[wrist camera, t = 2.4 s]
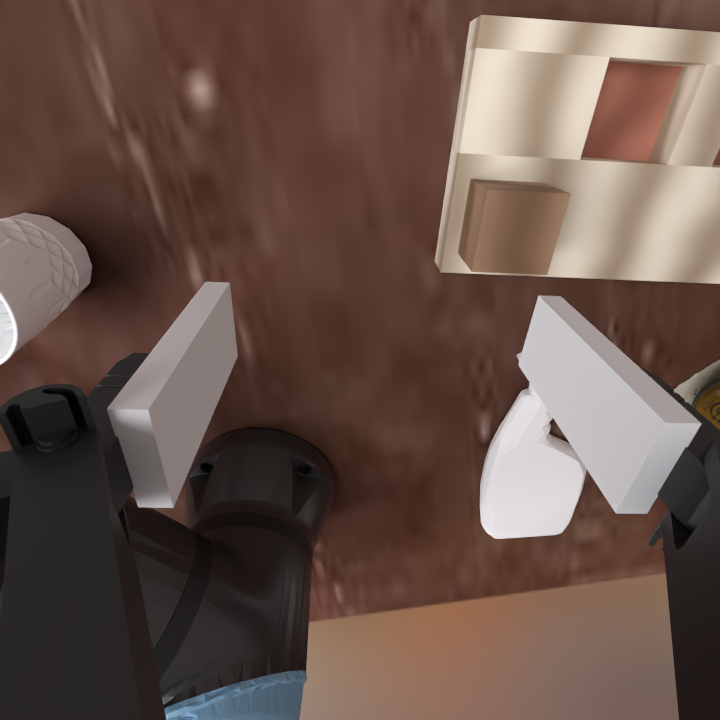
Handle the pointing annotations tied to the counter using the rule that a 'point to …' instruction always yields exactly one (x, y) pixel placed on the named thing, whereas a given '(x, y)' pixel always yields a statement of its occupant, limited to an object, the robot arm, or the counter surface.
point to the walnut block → (511, 226)
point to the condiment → (704, 392)
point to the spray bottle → (529, 474)
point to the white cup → (36, 276)
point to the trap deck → (596, 142)
